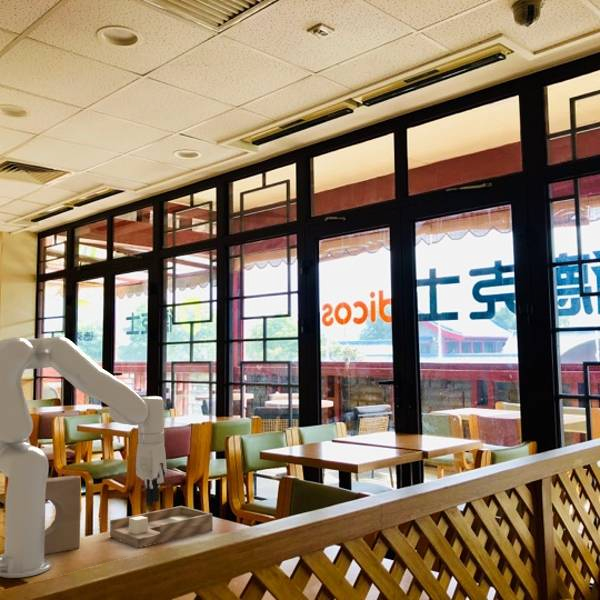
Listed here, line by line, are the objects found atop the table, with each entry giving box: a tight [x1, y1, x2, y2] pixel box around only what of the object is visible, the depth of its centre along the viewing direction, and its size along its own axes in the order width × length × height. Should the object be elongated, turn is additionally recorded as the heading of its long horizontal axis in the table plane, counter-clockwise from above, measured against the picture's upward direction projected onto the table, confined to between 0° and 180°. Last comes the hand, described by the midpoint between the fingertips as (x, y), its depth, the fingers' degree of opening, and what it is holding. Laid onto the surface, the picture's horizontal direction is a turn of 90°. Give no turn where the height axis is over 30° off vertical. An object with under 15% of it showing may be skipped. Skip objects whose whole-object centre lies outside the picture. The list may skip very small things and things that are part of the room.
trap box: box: [109, 505, 214, 548], centre depth 201 cm, size 26×17×5 cm, turn 135°
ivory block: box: [129, 516, 148, 534], centre depth 194 cm, size 4×4×4 cm
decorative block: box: [44, 474, 82, 556], centre depth 186 cm, size 11×6×20 cm, turn 128°
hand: (152, 501), depth 191 cm, fingers closed
